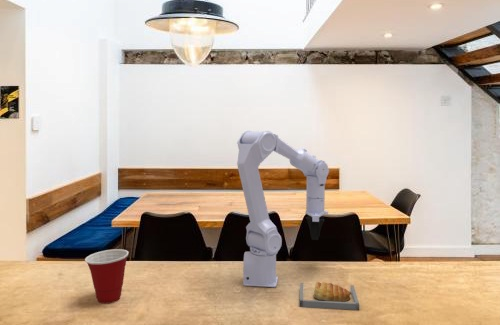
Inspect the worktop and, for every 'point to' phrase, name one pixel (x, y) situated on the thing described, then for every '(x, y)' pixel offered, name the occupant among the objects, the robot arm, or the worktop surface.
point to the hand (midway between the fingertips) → (314, 239)
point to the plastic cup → (107, 273)
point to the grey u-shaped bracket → (330, 302)
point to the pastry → (330, 292)
